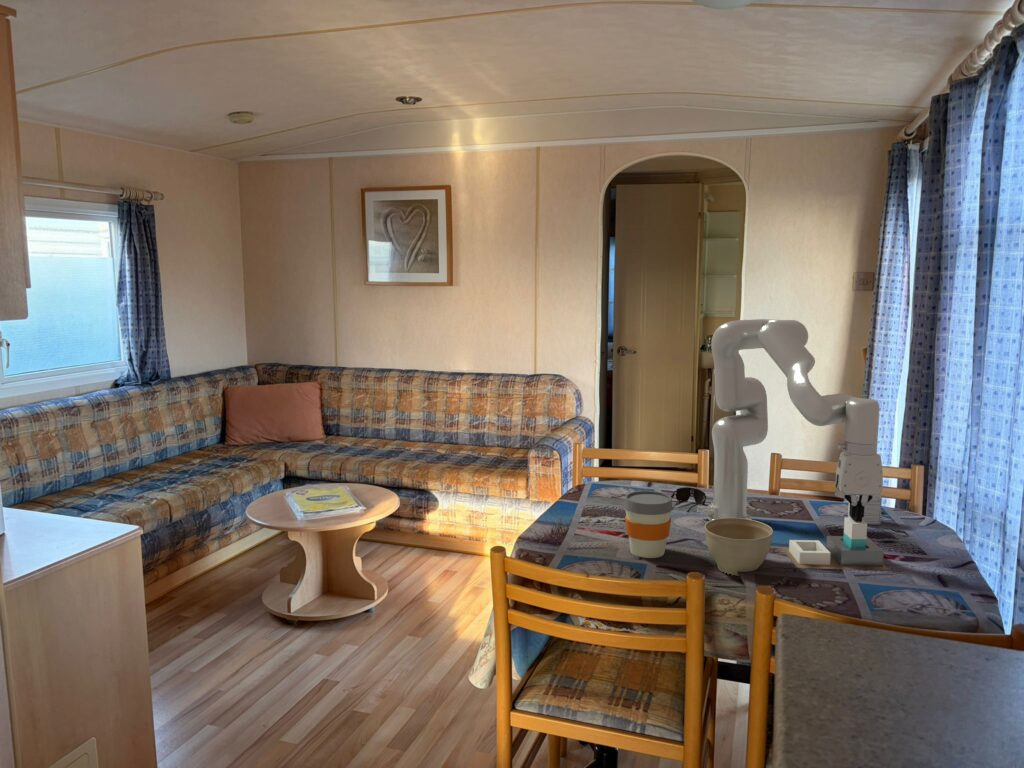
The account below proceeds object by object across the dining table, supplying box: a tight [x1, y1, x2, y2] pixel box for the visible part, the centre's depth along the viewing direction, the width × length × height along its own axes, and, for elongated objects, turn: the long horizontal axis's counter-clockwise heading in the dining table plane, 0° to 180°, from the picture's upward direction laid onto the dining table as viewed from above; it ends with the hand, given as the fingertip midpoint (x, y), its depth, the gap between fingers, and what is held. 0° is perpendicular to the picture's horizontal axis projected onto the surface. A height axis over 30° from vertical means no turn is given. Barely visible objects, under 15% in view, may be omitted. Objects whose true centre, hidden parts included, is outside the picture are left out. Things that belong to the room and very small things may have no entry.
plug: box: [843, 516, 868, 548], centre depth 187 cm, size 4×5×10 cm
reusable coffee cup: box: [623, 490, 673, 559], centre depth 196 cm, size 13×13×15 cm
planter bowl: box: [704, 518, 774, 577], centre depth 184 cm, size 16×16×11 cm
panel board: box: [781, 546, 891, 571], centre depth 188 cm, size 22×14×2 cm, turn 85°
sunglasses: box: [670, 486, 707, 513], centre depth 235 cm, size 10×12×5 cm
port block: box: [825, 535, 885, 567], centre depth 187 cm, size 10×10×4 cm
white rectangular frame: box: [788, 539, 831, 565], centre depth 188 cm, size 7×9×3 cm
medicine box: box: [847, 495, 883, 525], centre depth 218 cm, size 8×4×9 cm, turn 84°
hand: (856, 519), depth 186 cm, fingers closed
